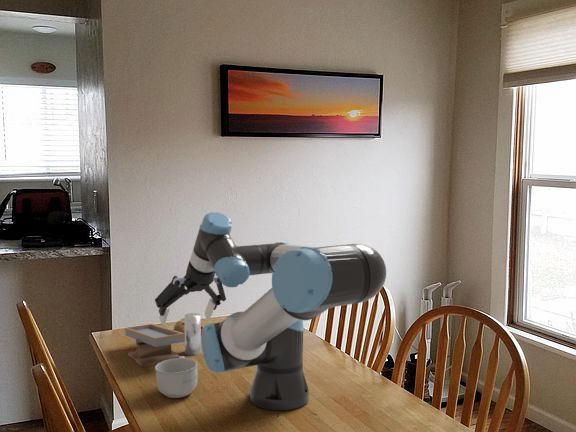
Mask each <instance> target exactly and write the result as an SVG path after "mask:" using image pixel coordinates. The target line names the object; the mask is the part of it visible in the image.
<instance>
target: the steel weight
mask: <svg viewBox="0 0 576 432" xmlns="http://www.w3.org/2000/svg"><path fill="white" fill-rule="evenodd" d="M184 318H185V342H184V354H185V355H187V356H197V355H198V356H199V355H200V354H201V353H202V342H201V341H202V340H201V336H202V335H201V326H202V325H201V324H202V315H201V314H200V313H197V312H196V313H193V312H191V313H186V314H184Z"/></svg>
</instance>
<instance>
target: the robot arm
mask: <svg viewBox="0 0 576 432" xmlns="http://www.w3.org/2000/svg"><path fill="white" fill-rule="evenodd" d="M232 226H233V222H232V220H231V219H230V217H229V216H227V215H226V214H224V213H222V212H215V211H214V212H212V211H211V212H208V213H206V214H205V215H204V217H203V219H202V221H201V223H200V225H199V229H198V232H197V235H196V239H195V241H194V242H195V243H194V246H193V249H192V252H191V255H190V259H189V260H188V261H189V262H188V263H187V267H186V270H185V275H184V276H183V277H178V276H177V275H174V276H173V277H172V279H171V282H169V283H168V285H167V286H166V287H165V288H164V289H163V290H162V291H161V292H160V293H159V294H158V295H157V296H156V297H155V299H154V302H155V304H156V307H157V308H158V313H159V317H158V319H159V321H160V324H161V325H160V326H161V327H163V326H165V325H166V321H167V319H168V315H169V312H170V306H171V305H173V304H174V303H175V302H177V301H178V300H179V299H180V298H182V297H183V296H186V295H189V294H190V293H194V292H202V291H203V290H204V291H205V292H206V293H207V294H208V296H210V297H209V298H208V302H207V305H206V308H205V310H204V313H203V314H204V317H205V319H206V320H207V321H210V320H211V318H212V315H213V312H214V311H215V310H216V309H217V307H218V306H220V305H221V304H222V303H221V301H222V302H226V300H227V297H226V294H225V289H224V286H225V287H226V288H237V287H238V286H239V285H243V284H244V283H246V282H247V280H249V278H250V276H257V275H263V274H264V275H265V274H272V275H271V286H272V287H271V288H270V289H269V290H268V291H266V292H265V293H263V295H262V296H260V297H259V298H258V299H257V300H256V301H255V302H253V303H252V304H251V305H250V306H249V307H248V308H246V309H245V310H243V311H237V312H233V313H231V314H230V315H228V316H227V317H226V318H224V320H221V321H220V322H215V323H214V322H211V323H208V324H206V325H204V326H203V329H202V335H201V351H202V353H203V358H204V361H205V364H206V366H207V367H208V369H209V370H210V372H212V373H214V374H219V373H223V374H224V373H227V372H230V371H236V370H239V369H245V368H250V367H254V366H255V367H256V368H257V369H256V372H255V375H254V378H253V381H252V385H251V386H250V389H249V390H250V391H249V394H250V395H249V400H250V402H251V403H252V404H253V405H254V406H256V407H258V408H261V409H265V410H270V411H290V410H297V409H299V408H302V407H303V406H305V405H306V404H308V402H309V400H310V391H309V387H308V383H307V380H306V377H305V374H304V369H303V364H304V362H303V361H304V359H303V357H304V333H305V329H304V328H305V327H304V321H310V320H311V321H312V320H313V319H315V318H317V317H318V316H320V315H322V314H323V313H324V312H326V311H327V310H329V309H331V308H336V307H340V306H348V305H354V304H360V303H364V302H367V301H370V300H371V299H373V298H374V297H375V296H377V295H378V294H379V293H380V291H382V288H383V287H384V285H385V282H386V279H387V267H386V264H385V260H384V259H383V256H382V255H381V254H380V253H379V251H377V250H376V249H374V248H373V247H371V246H369V245H366V244H362V243H349V244H348V243H347V244H339V245H330V246H329V245H327V246H320V247H315V246H303V245H293V244H292V243H290V242H274V243H265V244H250V245H238V246H237V245H236V244H235V242H234V239H232V237H231V235H230V233H231V231H232ZM213 282H214V283H216V288H217V292H218V294H216V291H214V289H213V288H212V287H211V284H213Z"/></svg>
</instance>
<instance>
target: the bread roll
mask: <svg viewBox="0 0 576 432" xmlns="http://www.w3.org/2000/svg"><path fill="white" fill-rule="evenodd" d="M203 328H204V326H202V325H201V336H202V330H203ZM173 330H175V331H178V332H181V333H184V335H185V317H183V318H181V319H179V320H178V321H177V322H176V323H175V324H174V325H173Z"/></svg>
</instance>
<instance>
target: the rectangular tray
mask: <svg viewBox="0 0 576 432" xmlns="http://www.w3.org/2000/svg"><path fill="white" fill-rule="evenodd" d="M124 334H125V335H124V336H126V337H129V338H131V339H133V340H135V344H136V343H141V342H144V343H147V344H149V345H152V346H155V347H157V346H163V345H168V344H171V345H174V344H179V343H185V335H184V333H181V332H178V331H175V330H174V329H171V328H168V327H163V326H162V325H157V324H154V323H148V324H141V325H136V326H129V327H125V328H124Z"/></svg>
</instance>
